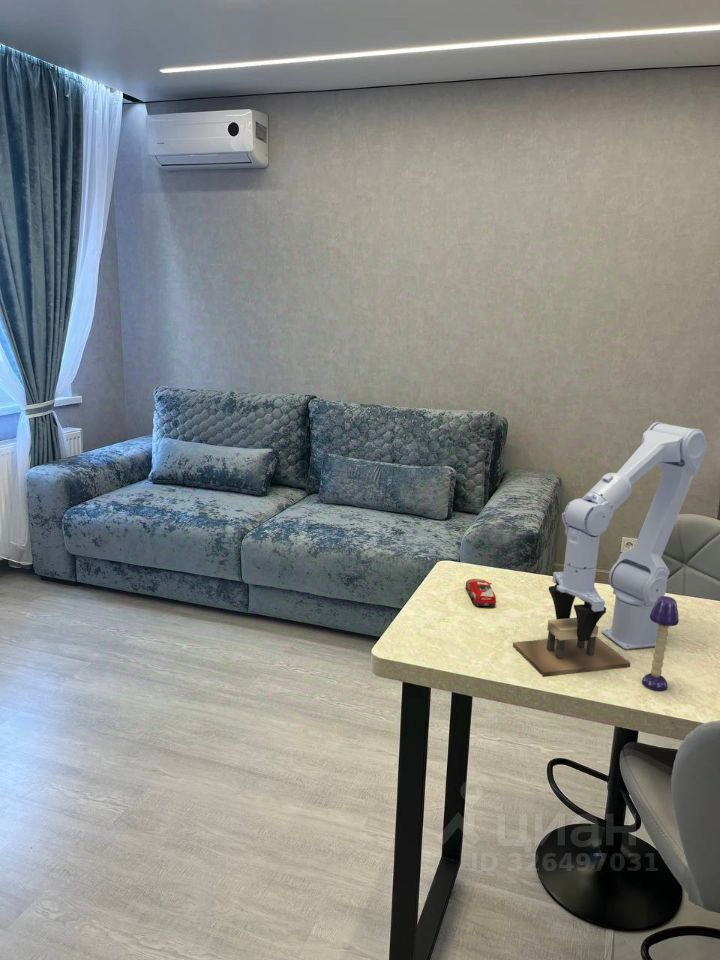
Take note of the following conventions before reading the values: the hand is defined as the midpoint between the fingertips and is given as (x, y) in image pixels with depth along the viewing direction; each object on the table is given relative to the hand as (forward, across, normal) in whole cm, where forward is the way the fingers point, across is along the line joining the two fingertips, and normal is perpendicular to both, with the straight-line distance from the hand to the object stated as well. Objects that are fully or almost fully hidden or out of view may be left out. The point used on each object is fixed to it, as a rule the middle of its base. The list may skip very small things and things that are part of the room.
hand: (572, 631), depth 134 cm
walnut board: (+5, 0, 0) cm, 5 cm away
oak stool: (+4, 0, 0) cm, 4 cm away
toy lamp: (+5, +13, +9) cm, 17 cm away
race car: (+6, -30, -5) cm, 31 cm away
